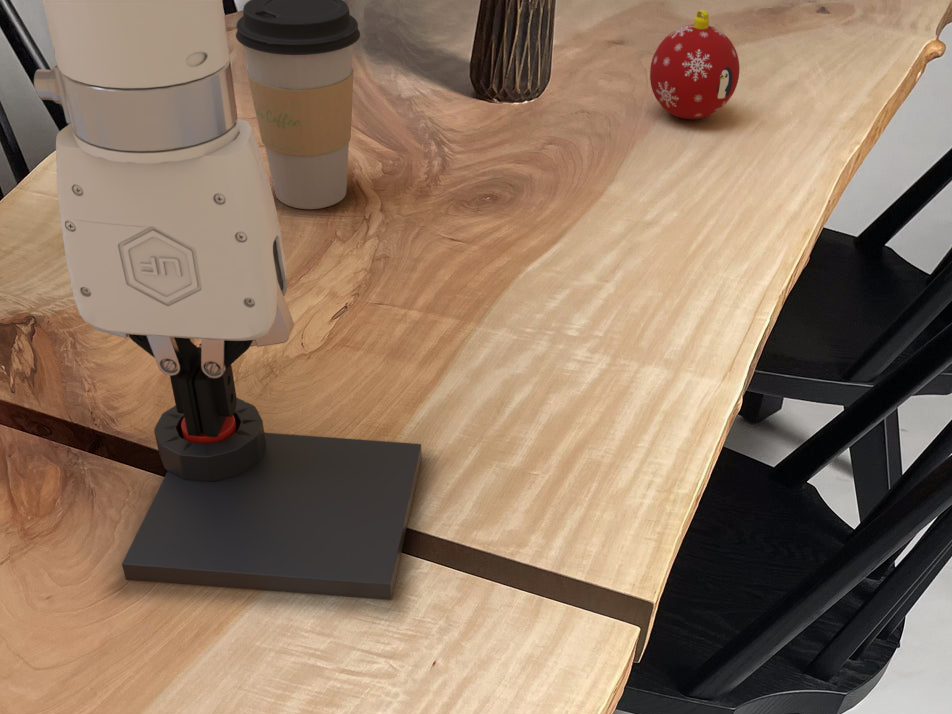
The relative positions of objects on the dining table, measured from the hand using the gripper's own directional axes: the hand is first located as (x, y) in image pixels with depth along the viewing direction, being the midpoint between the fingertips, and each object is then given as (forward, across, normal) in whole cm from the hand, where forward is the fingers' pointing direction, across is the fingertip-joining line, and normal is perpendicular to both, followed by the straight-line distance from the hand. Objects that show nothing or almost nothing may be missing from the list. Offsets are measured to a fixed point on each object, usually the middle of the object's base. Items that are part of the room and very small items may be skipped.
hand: (210, 421), depth 63 cm
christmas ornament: (+4, +31, +60) cm, 68 cm away
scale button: (+2, 0, 0) cm, 2 cm away
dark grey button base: (+3, +5, -4) cm, 7 cm away
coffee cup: (+3, -2, +37) cm, 37 cm away
